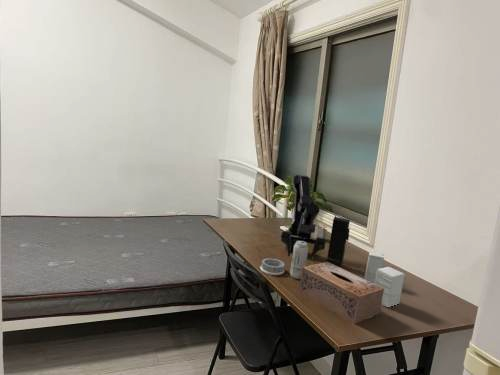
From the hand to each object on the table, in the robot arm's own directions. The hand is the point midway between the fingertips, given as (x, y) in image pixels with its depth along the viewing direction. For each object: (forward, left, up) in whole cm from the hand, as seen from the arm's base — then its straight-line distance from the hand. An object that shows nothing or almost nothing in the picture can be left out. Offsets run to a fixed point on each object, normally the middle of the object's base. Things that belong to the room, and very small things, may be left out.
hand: (299, 257), depth 150 cm
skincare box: (-33, +5, -9) cm, 35 cm away
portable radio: (-25, -12, -9) cm, 29 cm away
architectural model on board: (-36, -51, -9) cm, 63 cm away
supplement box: (-26, +23, -9) cm, 36 cm away
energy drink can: (0, -1, -9) cm, 9 cm away
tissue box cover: (-7, +21, -9) cm, 24 cm away
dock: (+8, -8, -9) cm, 14 cm away
